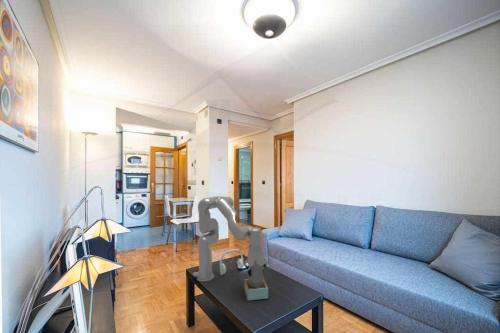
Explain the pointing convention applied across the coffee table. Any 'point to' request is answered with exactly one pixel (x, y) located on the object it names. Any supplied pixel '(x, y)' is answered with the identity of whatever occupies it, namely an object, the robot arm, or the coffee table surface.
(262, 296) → the gate
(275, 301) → the coffee table surface
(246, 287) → the cubby
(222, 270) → the headset
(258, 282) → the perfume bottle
